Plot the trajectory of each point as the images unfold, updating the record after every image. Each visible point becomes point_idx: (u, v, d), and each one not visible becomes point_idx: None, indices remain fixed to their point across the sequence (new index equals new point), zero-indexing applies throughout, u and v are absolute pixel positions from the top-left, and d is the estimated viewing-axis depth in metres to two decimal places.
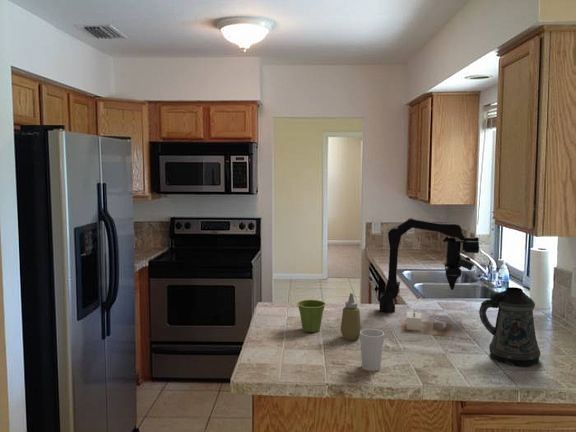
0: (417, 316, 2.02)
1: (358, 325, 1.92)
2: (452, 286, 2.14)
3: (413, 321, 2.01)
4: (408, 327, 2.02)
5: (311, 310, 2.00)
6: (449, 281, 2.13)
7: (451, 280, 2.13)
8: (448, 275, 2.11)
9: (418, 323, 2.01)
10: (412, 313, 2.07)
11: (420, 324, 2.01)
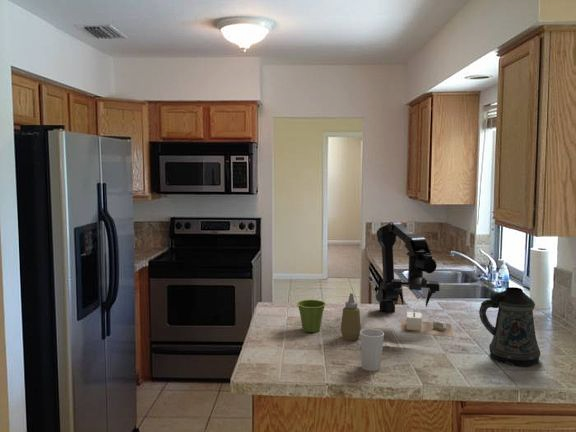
0: (417, 316, 2.02)
1: (358, 325, 1.92)
2: (401, 300, 2.06)
3: (413, 321, 2.01)
4: (408, 327, 2.02)
5: (311, 310, 2.00)
6: None
7: None
8: None
9: (418, 323, 2.01)
10: (412, 313, 2.07)
11: (420, 324, 2.01)
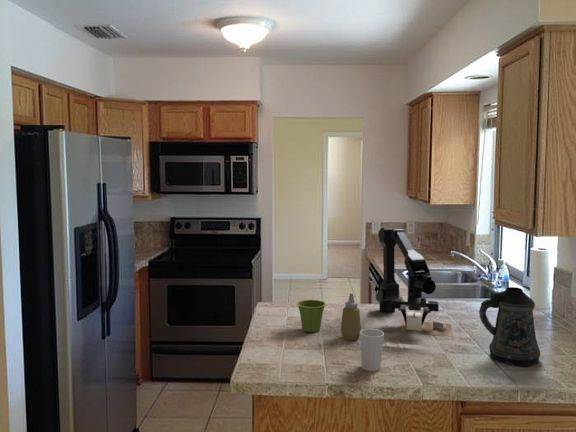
0: (417, 316, 2.02)
1: (358, 325, 1.92)
2: None
3: (413, 321, 2.01)
4: (408, 327, 2.02)
5: (311, 310, 2.00)
6: None
7: None
8: None
9: (418, 323, 2.01)
10: (412, 313, 2.07)
11: (420, 324, 2.01)
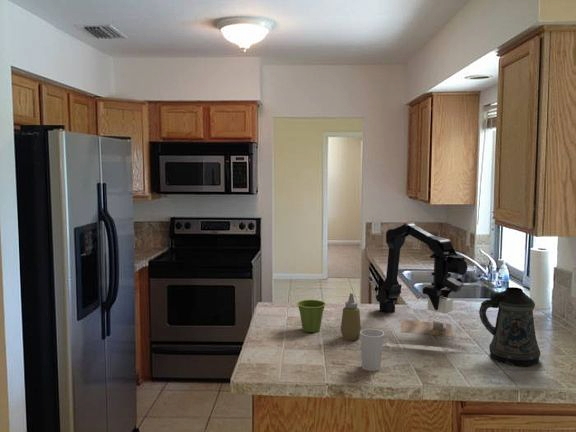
0: (446, 298, 2.01)
1: (358, 325, 1.92)
2: (435, 306, 1.99)
3: (448, 303, 1.99)
4: (446, 311, 1.98)
5: (311, 310, 2.00)
6: (431, 300, 1.99)
7: (433, 299, 1.99)
8: None
9: (451, 304, 2.00)
10: None
11: (452, 304, 2.01)
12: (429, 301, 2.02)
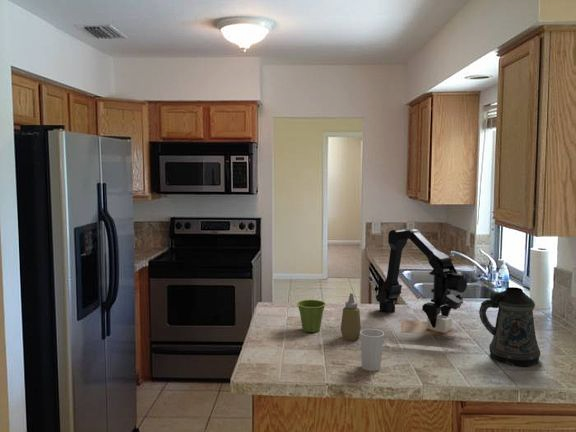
0: (446, 317, 2.02)
1: (358, 325, 1.92)
2: (433, 324, 1.99)
3: (448, 322, 2.00)
4: (445, 330, 1.99)
5: (311, 310, 2.00)
6: (429, 318, 1.99)
7: (431, 317, 1.99)
8: (425, 311, 1.98)
9: (450, 323, 2.01)
10: None
11: (451, 323, 2.02)
12: (428, 320, 2.03)
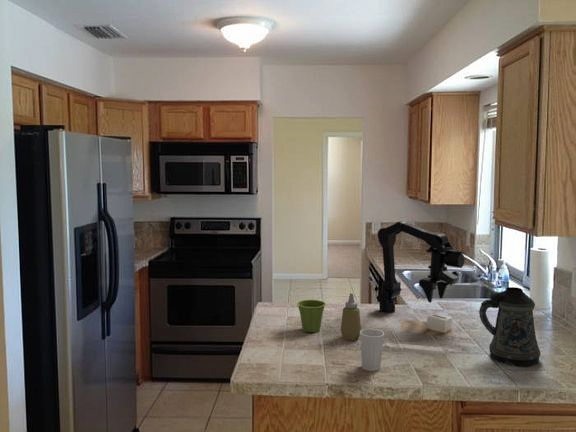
0: (446, 317, 2.02)
1: (358, 325, 1.92)
2: (429, 299, 2.06)
3: (448, 322, 2.00)
4: (445, 330, 1.99)
5: (311, 310, 2.00)
6: (425, 293, 2.06)
7: (427, 292, 2.06)
8: (422, 286, 2.05)
9: (450, 323, 2.01)
10: (434, 316, 2.03)
11: (451, 323, 2.02)
12: (428, 320, 2.03)
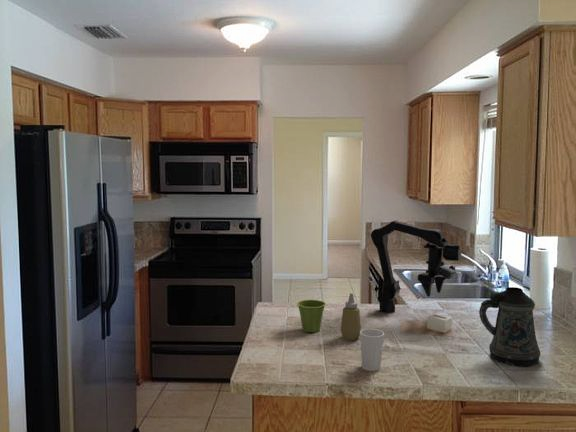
0: (446, 317, 2.02)
1: (358, 325, 1.92)
2: (427, 293, 2.12)
3: (448, 322, 2.00)
4: (445, 330, 1.99)
5: (311, 310, 2.00)
6: (424, 287, 2.12)
7: (426, 287, 2.12)
8: (420, 281, 2.11)
9: (450, 323, 2.01)
10: (434, 316, 2.03)
11: (451, 323, 2.02)
12: (428, 320, 2.03)
